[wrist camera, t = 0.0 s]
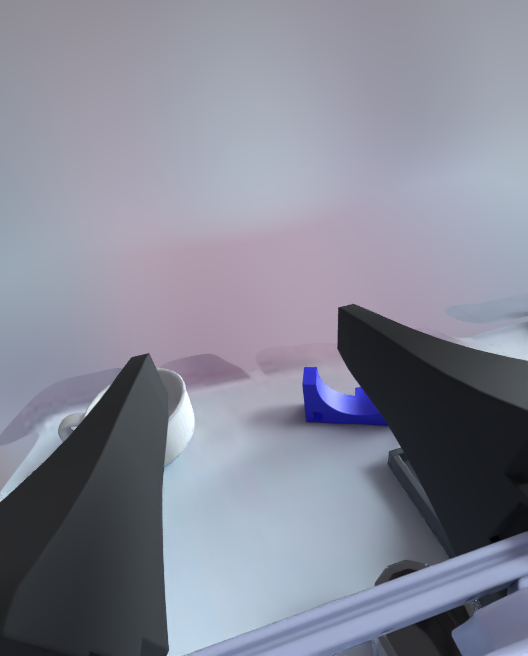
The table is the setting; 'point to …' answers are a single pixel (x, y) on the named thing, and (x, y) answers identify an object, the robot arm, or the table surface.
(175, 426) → the teacup
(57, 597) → the robot arm
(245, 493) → the table surface
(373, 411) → the blue curved stand
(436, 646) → the black cup
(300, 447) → the table surface
